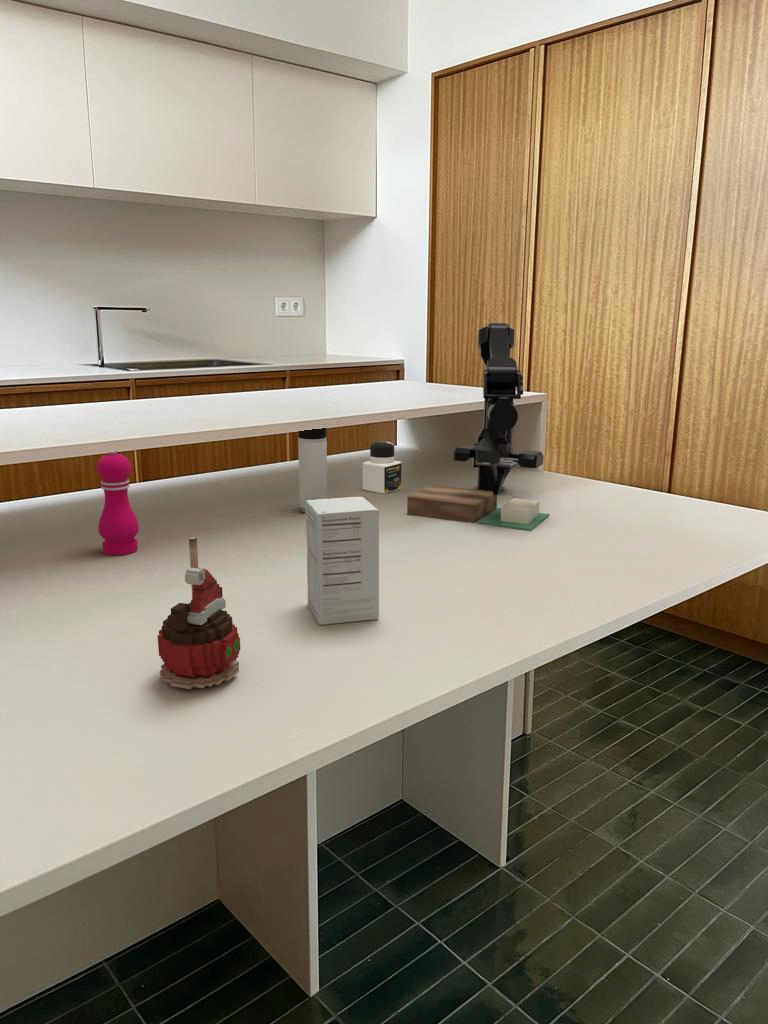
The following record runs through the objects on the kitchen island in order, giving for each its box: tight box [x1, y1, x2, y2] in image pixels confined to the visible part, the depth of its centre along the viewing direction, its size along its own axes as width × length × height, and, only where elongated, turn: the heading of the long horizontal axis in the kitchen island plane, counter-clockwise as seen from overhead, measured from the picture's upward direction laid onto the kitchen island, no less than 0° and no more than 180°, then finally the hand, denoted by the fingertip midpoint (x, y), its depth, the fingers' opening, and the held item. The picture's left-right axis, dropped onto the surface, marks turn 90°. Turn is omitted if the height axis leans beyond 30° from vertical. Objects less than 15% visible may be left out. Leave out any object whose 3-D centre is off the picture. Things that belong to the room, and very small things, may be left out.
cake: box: [157, 536, 241, 690], centre depth 97 cm, size 11×9×18 cm
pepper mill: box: [96, 451, 140, 556], centre depth 147 cm, size 7×7×20 cm
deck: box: [406, 484, 498, 524], centre depth 179 cm, size 14×16×4 cm
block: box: [500, 498, 540, 524], centre depth 173 cm, size 9×6×3 cm, turn 155°
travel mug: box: [297, 427, 328, 514], centre depth 177 cm, size 6×7×20 cm
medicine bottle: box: [362, 441, 403, 495], centre depth 199 cm, size 7×7×12 cm
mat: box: [475, 507, 550, 532], centre depth 173 cm, size 14×12×1 cm
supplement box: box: [305, 496, 380, 626], centre depth 119 cm, size 10×9×17 cm
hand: (496, 495), depth 174 cm, fingers closed
